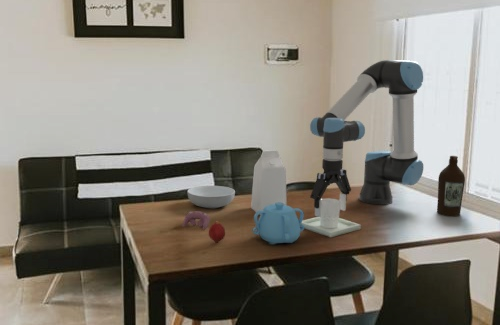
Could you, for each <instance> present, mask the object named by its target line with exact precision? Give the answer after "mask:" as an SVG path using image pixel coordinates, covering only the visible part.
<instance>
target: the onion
mask: <svg viewBox="0 0 500 325" xmlns="http://www.w3.org/2000/svg"><path fill="white" fill-rule="evenodd" d="M208 236H209V238H210V239H211V240H212V241H213V242H214V243H216V244H217V243H219V242H221V241H222V240H223V239H224V238H225V236H226V229H225V227H224V226H223V225H222V224H221V223H220V222H219V220H217V221H215V223H213V224H211V225H210V227H209V229H208Z"/></svg>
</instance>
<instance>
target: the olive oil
mask: <svg viewBox="0 0 500 325" xmlns="http://www.w3.org/2000/svg"><path fill="white" fill-rule="evenodd" d="M458 160H459V159H458V156H457V155H450V156H449V160H448V165H447V166H446V167H444V168H443V169H442V170H441V171H440V173H439V175H438V181H437V182H438V183H437V184H438V185H437V191H438V192H437V207H436V208H437V209H436V211H437V214H439V215H442V216H447V217H457V216H458V217H459V216H461V211H462V203H463V197H464V196H463V194H464V189H465V184H466V183H465V182H466V176H465V173H464V172H463V171H462V170H461V168H460V167H459V165H458Z"/></svg>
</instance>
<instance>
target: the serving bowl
mask: <svg viewBox="0 0 500 325" xmlns="http://www.w3.org/2000/svg"><path fill="white" fill-rule="evenodd" d="M186 191H187V192H186V193H187V197H188V200H189V201H190V202H191V203H192V204H193V205H195V206H198V207H199V208H200V207H201V208H204V209H217V208H220V207H224V206H227V205H228V204H231V202H233V200H234V198H235V196H236V195H235V194H236V191H235V189H234V188H231V187H229V186H223V185H222V186H221V185H200V186H199V185H198V186H194V187H190V188H188V190H186Z"/></svg>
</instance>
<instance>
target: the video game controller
mask: <svg viewBox="0 0 500 325" xmlns="http://www.w3.org/2000/svg"><path fill="white" fill-rule="evenodd" d="M197 220H199V221H198V222H197ZM210 220H211V217H210V215H209V214H207V213H206V212H203V211H199V210H198V211H197V210H195V211H193V210H192V211H189V212H188V213H187V214H186V215H185V217H184V219H183V222H182V227H183V228H185V227H187V225H188V224H190V226H191V227H192V226H193V227H195V226H197V225H198V226H199V227H200V228H202V230H206V229H207V228H208V225H209V223H210Z"/></svg>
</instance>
